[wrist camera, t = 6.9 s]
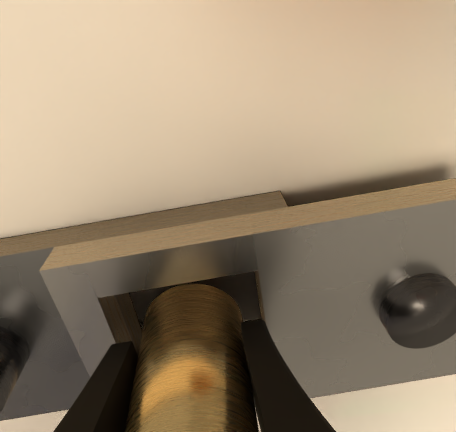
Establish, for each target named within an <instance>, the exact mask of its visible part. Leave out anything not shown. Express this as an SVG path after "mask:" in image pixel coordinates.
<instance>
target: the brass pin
mask: <svg viewBox="0 0 456 432" xmlns="http://www.w3.org/2000/svg"><path fill="white" fill-rule="evenodd" d="M240 322H242V315H241V311H240V309H239V306H238V305H237V303H236V302H235V300H234V299H233V298H232V297H231V296H229V295H228V294H227V293H225V292H224V291H222V290H220V289H218V288H215V287H212V286H208V285H203V284H186V285H181V286H177V287H174V288H171V289H169V290H167V291H165V292H163V293H162V294H160V295H159V296H158V297H156V298H155V299H154V300H153V302H152V303H151V304H150V306H149V308H148V310H147V312H146V316H145V321H144V327H143V332H142V338H141V344H140V349H139V355H138V361H137V366H136V372H135V378H134V383H133V389H132V394H131V400H130V406H129V411H128V417H127V423H126V428H125V432H259V431H258V424H257V417H256V410H255V404H254V397H253V390H252V385H251V380H250V376H249V371H248V367H247V361H246V356H245V351H244V345H243V339H242V331H241V323H240Z"/></svg>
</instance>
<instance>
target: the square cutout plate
mask: <svg viewBox="0 0 456 432" xmlns="http://www.w3.org/2000/svg"><path fill="white" fill-rule="evenodd" d="M253 271H255V277H256V284H257V291H258V297H259V304H260V310H261V317H262V320H264V321H265V323H266V326H267V328H268V331H269V333H270V335H271V337H272V339H273V341H274V343H275V345H276V347H277V349H278V351H279V352H280V354H281V356H282V358H283V359H284V361H285V363H286V364H287V366H288V367H289V369H290V370H291V372H292V374H293V375H294V377H295V378H296V380H297V381H298V383H299V384H300V386H301V387H302V388H303V390H304V391H305V393H306V394H307V395H308V397H309V398H315V397H321V396H327V395H333V394H339V393H345V392H351V391H357V390H363V389H369V388H375V387H381V386H386V385H392V384H398V383H404V382H410V381H416V380H422V379H428V378H434V377H440V376H446V375H452V374H456V178H453V179H447V180H442V181H436V182H430V183H424V184H418V185H413V186H407V187H401V188H395V189H389V190H384V191H378V192H372V193H366V194H360V195H354V196H349V197H343V198H337V199H331V200H325V201H320V202H314V203H308V204H302V205H296V206H290V207H288V206H287V204H286V202H285V200H284V198H283V196H282V194H281V192H280V191H276V192H270V193H264V194H259V195H253V196H247V197H241V198H235V199H230V200H224V201H218V202H212V203H206V204H201V205H195V206H189V207H183V208H177V209H172V210H166V211H160V212H154V213H148V214H143V215H137V216H131V217H125V218H119V219H114V220H108V221H102V222H96V223H90V224H85V225H79V226H73V227H67V228H61V229H56V230H50V231H44V232H38V233H32V234H27V235H21V236H15V237H9V238H3V239H0V421H2V420H8V419H14V418H20V417H26V416H32V415H38V414H44V413H50V412H56V411H62V410H68V409H70V408H71V406H72V405H73V403H74V402H75V400H76V399H77V397H78V396H79V394H80V393H81V391H82V390H83V388H84V387H85V385H86V383H87V382H88V380H89V379H90V377H91V376H92V374H93V373H94V371H95V369H96V368H97V366H98V365H99V363H100V361H101V360H102V358H103V357H104V355H105V353H106V352H107V350H108V349H109V347H110V346H111V345H112V344H116V343H122V342H128V341H132V342H133V344H134V347H135V350H136V352H137V355H139V349H140V344H141V338H142V329H141V326H140V323H139V321H138V318H137V315H136V312H135V309H134V306H133V304H132V301H131V298H130V295H129V293H130V292H135V291H141V290H147V289H153V288H159V287H165V286H171V285H176V284H182V283H188V282H194V281H200V280H206V279H212V278H218V277H223V276H229V275H235V274H241V273H247V272H253ZM254 404H255V403H254Z"/></svg>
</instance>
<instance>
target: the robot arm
mask: <svg viewBox="0 0 456 432" xmlns="http://www.w3.org/2000/svg"><path fill="white" fill-rule="evenodd" d="M240 323H241V331H242V339H243V345H244V351H245V356H246V361H247V367H248V371H249V376H250V380H251V385H252V390H253V397H254V403H255V408H256V412H257V416H258V420H259V424H260V429H261V432H336V431H335V430H334V429H333V427H332V426H331V425H330V424H329V423H328V421H327V420H326V419H325V418H324V416H323V415H322V414H321V413H320V411H319V410H318V409H317V407H316V406H315V405H314V403H313V402H312V401H311V399H310V398H309V397H308V395H307V394H306V393H305V391H304V390H303V388H302V387H301V386H300V384H299V383H298V381H297V380H296V378H295V377H294V375H293V374H292V372H291V370H290V369H289V367H288V366H287V364H286V363H285V361H284V359H283V358H282V356H281V354H280V352H279V351H278V349H277V347H276V345H275V343H274V341H273V339H272V337H271V335H270V333H269V331H268V328H267V326H266V323H265V321H264V320H262V319H258V320H252V321H246V322H240ZM137 361H138V355H137V352H136V350H135V347H134V344H133V342H132V341H128V342H122V343H116V344H112V345H111V346H110V347H109V349H108V350H107V352H106V353H105V355H104V357H103V358H102V360H101V361H100V363H99V365H98V366H97V368H96V369H95V371H94V373H93V374H92V376H91V377H90V379H89V380H88V382H87V383H86V385H85V387H84V388H83V390H82V391H81V393H80V394H79V396H78V397H77V399H76V400H75V402H74V403H73V405H72V406H71V408H70V409H69V411H68V412H67V414H66V415H65V416H64V418H63V419H62V421H61V422H60V423H59V425H58V426H57V428H56V429H55V430H54V432H125V428H126V423H127V417H128V411H129V406H130V400H131V394H132V389H133V383H134V378H135V372H136V366H137Z"/></svg>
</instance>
